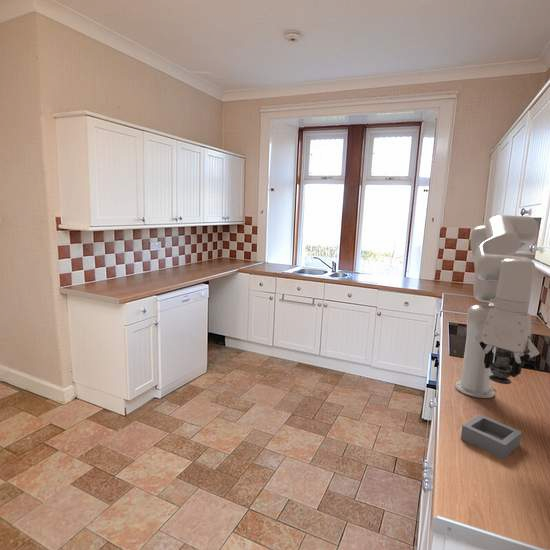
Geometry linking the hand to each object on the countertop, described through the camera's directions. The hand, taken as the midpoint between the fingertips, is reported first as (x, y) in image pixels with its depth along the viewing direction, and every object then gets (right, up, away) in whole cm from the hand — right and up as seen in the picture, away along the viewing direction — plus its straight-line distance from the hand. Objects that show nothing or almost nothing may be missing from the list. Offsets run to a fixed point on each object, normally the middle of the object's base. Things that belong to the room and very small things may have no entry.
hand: (501, 370), depth 102 cm
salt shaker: (0, -3, 0) cm, 3 cm away
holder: (-1, -20, +3) cm, 21 cm away
